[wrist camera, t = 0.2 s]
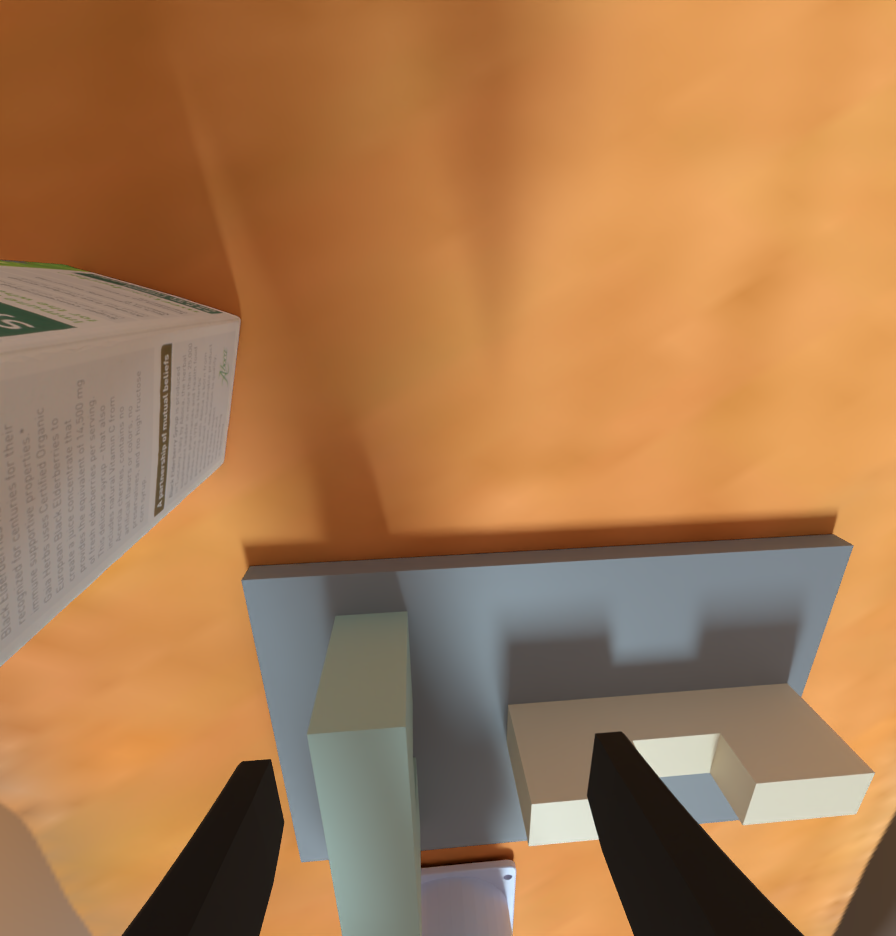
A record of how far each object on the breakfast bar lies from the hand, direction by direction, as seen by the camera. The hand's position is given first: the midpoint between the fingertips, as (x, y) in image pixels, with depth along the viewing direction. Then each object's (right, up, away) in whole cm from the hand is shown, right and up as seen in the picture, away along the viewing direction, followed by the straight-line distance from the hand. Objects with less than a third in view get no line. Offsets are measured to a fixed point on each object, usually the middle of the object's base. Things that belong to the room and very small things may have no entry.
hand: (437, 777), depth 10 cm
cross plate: (-3, -6, +11) cm, 13 cm away
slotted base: (+5, -5, +13) cm, 15 cm away
